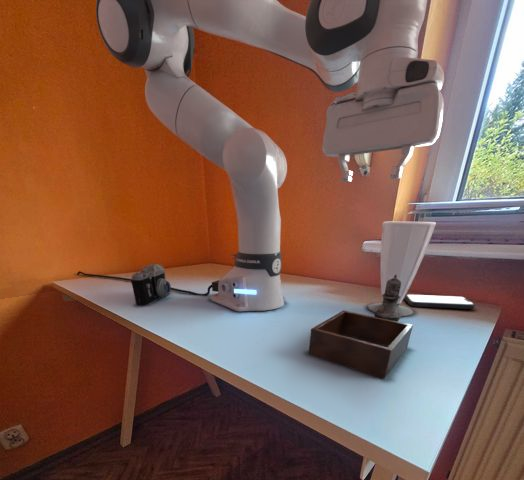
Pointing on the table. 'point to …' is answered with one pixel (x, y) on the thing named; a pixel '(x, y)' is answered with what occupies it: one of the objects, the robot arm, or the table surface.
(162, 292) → the camera
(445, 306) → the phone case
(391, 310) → the salt shaker
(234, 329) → the table surface
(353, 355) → the crate
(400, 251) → the cup
